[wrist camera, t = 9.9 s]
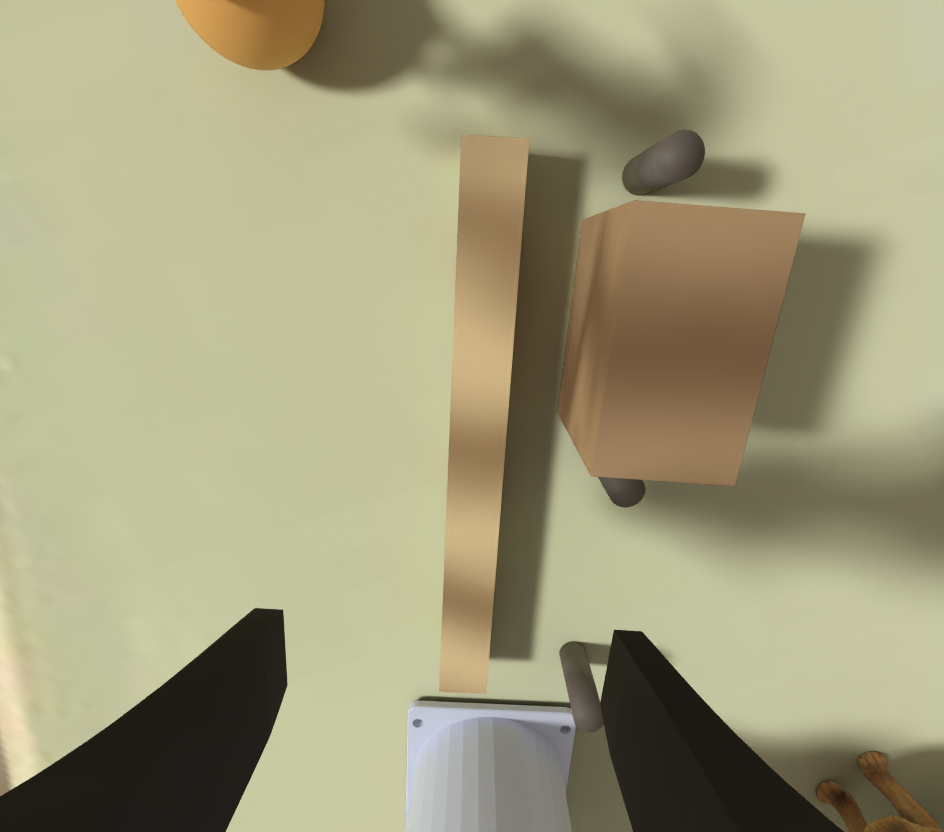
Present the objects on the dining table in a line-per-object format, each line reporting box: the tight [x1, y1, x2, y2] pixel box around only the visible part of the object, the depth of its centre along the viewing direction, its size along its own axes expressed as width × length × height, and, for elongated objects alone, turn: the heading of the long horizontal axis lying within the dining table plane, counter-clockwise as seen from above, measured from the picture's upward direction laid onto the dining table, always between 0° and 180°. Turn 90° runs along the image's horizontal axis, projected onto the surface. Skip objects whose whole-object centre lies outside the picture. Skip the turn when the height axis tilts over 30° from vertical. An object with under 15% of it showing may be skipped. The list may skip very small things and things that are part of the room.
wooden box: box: [557, 200, 806, 486], centre depth 15 cm, size 7×4×6 cm, turn 176°
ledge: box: [439, 130, 705, 732], centre depth 18 cm, size 21×7×4 cm, turn 177°
